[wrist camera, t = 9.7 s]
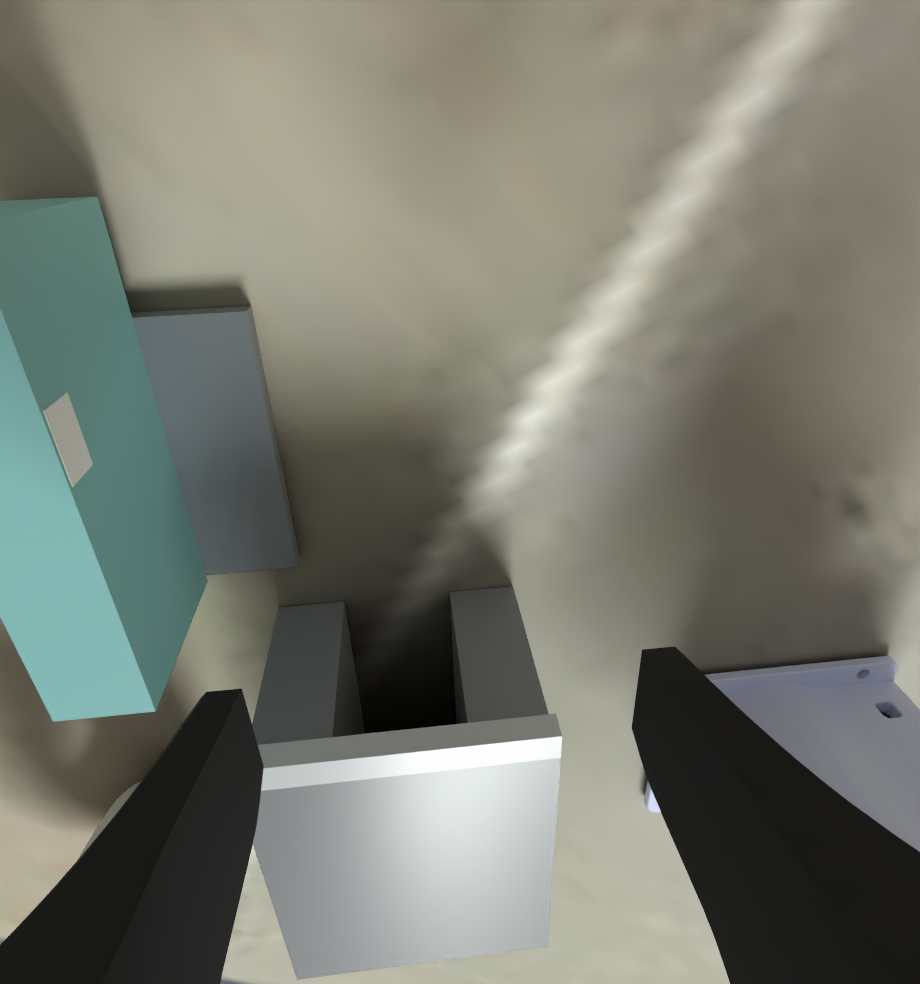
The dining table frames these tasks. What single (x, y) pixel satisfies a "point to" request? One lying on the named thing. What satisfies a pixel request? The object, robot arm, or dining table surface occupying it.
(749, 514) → the dining table surface
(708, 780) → the robot arm
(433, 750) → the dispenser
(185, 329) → the coaster
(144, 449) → the tall teal prism
